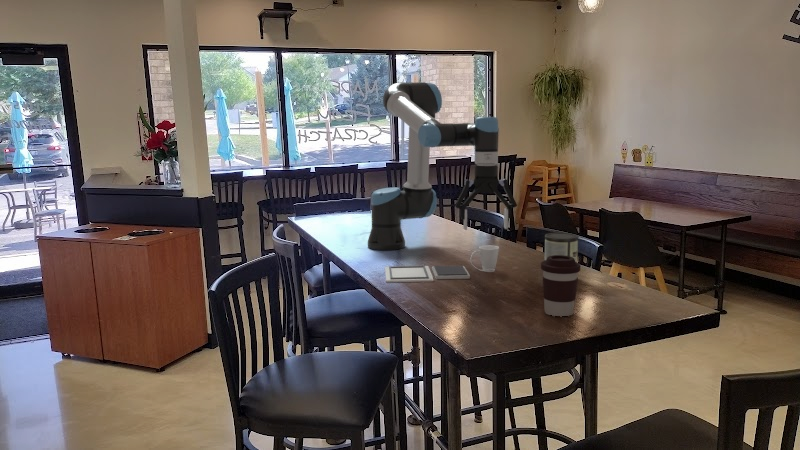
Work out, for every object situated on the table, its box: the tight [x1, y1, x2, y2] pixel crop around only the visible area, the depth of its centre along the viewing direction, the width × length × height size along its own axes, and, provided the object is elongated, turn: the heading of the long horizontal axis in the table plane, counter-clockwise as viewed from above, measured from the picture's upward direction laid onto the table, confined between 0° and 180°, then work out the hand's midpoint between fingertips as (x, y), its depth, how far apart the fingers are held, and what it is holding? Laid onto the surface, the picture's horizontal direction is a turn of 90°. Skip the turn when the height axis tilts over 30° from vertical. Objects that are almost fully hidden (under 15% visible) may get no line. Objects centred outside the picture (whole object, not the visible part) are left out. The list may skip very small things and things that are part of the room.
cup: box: [469, 244, 500, 273], centre depth 202 cm, size 7×10×8 cm
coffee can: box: [543, 232, 579, 263], centre depth 191 cm, size 10×10×14 cm
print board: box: [384, 265, 434, 283], centre depth 199 cm, size 18×15×1 cm
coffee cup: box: [540, 255, 581, 318], centre depth 157 cm, size 10×10×15 cm
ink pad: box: [431, 264, 471, 280], centre depth 199 cm, size 13×11×1 cm
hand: (485, 228), depth 200 cm, fingers open, 13 cm apart
